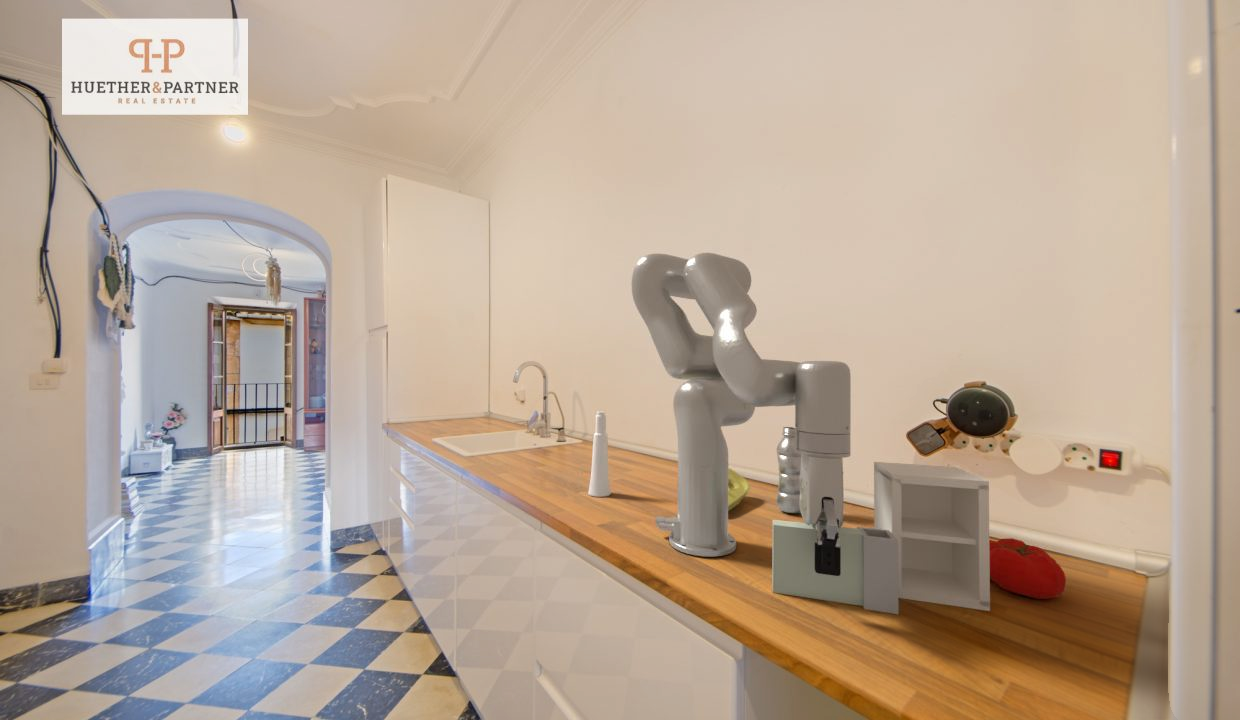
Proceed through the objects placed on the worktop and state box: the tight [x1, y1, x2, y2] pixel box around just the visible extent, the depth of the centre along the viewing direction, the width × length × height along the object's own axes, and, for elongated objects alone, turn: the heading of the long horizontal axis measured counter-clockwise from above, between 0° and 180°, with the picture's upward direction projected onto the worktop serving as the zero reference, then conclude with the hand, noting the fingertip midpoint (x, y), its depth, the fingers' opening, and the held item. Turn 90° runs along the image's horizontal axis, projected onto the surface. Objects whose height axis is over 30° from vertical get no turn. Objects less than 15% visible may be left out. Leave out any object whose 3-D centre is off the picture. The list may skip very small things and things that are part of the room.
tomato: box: [989, 537, 1067, 600], centre depth 68 cm, size 10×11×6 cm
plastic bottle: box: [775, 426, 802, 514], centre depth 104 cm, size 6×7×20 cm
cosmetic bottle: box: [587, 410, 612, 498], centre depth 117 cm, size 6×6×22 cm
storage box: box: [771, 519, 899, 615], centre depth 64 cm, size 16×4×10 cm, turn 73°
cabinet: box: [873, 461, 991, 612], centre depth 66 cm, size 16×14×18 cm
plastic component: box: [728, 467, 751, 512], centre depth 110 cm, size 20×7×10 cm
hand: (821, 559), depth 65 cm, fingers open, 9 cm apart
